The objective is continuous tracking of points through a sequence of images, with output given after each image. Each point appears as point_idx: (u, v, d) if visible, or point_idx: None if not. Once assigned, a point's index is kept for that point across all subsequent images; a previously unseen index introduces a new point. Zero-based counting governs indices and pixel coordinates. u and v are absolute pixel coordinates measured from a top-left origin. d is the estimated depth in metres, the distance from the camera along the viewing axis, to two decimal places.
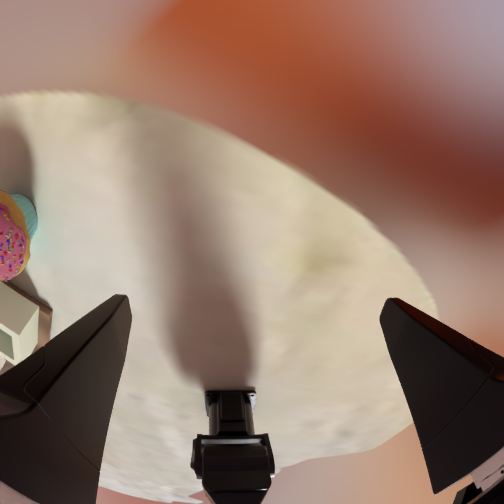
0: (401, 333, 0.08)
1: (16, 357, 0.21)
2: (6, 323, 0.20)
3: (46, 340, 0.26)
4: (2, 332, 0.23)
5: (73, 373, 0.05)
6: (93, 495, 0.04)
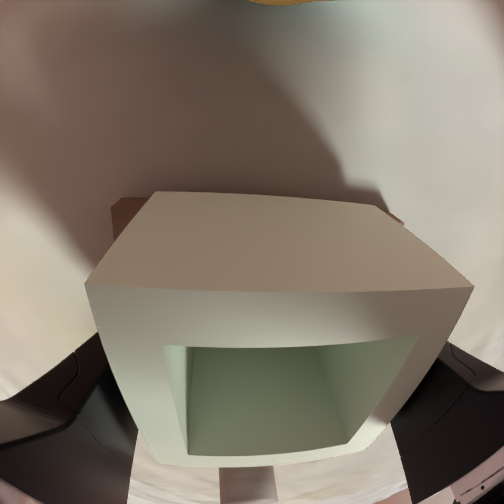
0: None
1: (373, 424, 0.06)
2: (393, 278, 0.05)
3: None
4: (231, 389, 0.09)
5: (109, 380, 0.05)
6: (124, 503, 0.04)
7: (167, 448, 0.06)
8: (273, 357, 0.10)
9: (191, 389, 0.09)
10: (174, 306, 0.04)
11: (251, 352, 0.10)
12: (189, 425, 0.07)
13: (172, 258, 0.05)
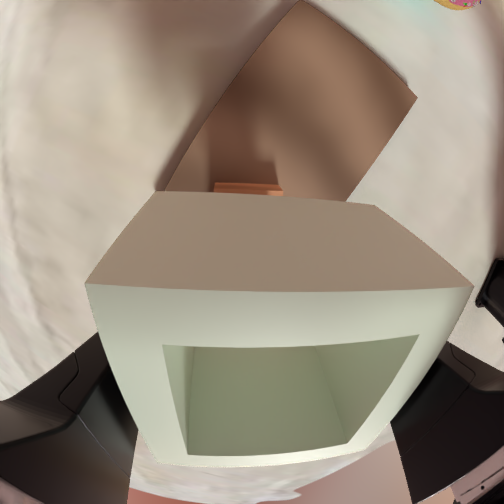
0: None
1: (373, 424, 0.06)
2: (393, 277, 0.05)
3: (381, 147, 0.16)
4: (231, 389, 0.09)
5: (109, 380, 0.05)
6: (124, 503, 0.04)
7: (167, 448, 0.06)
8: (273, 357, 0.10)
9: (191, 389, 0.09)
10: (174, 305, 0.04)
11: (251, 352, 0.10)
12: (189, 425, 0.07)
13: (172, 257, 0.05)
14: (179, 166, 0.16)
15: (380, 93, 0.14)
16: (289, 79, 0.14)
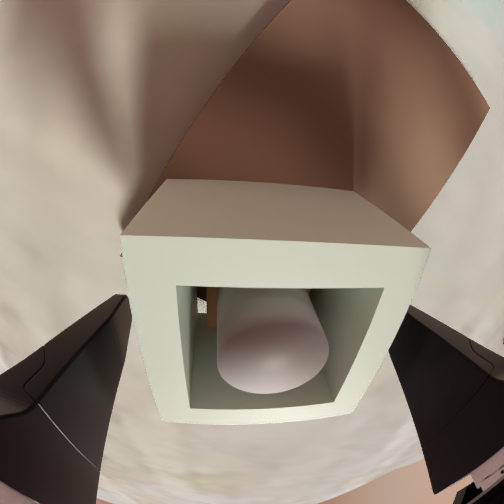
0: (401, 333, 0.08)
1: (355, 381, 0.08)
2: (356, 237, 0.06)
3: (449, 173, 0.10)
4: None
5: (73, 373, 0.05)
6: (93, 495, 0.04)
7: (172, 400, 0.08)
8: None
9: (194, 352, 0.10)
10: (187, 250, 0.05)
11: None
12: (192, 382, 0.09)
13: (185, 220, 0.06)
14: None
15: (452, 96, 0.09)
16: (332, 60, 0.08)
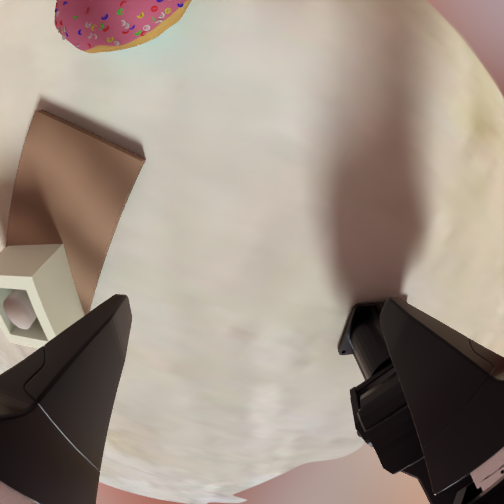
0: (401, 333, 0.08)
1: (47, 331, 0.16)
2: (15, 273, 0.14)
3: (113, 222, 0.18)
4: None
5: (73, 373, 0.05)
6: (93, 495, 0.04)
7: (4, 329, 0.16)
8: None
9: None
10: None
11: None
12: (15, 326, 0.17)
13: None
14: None
15: (101, 173, 0.17)
16: (37, 185, 0.16)
